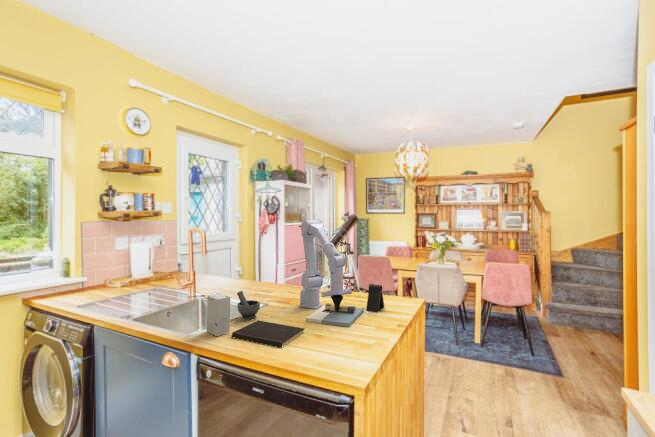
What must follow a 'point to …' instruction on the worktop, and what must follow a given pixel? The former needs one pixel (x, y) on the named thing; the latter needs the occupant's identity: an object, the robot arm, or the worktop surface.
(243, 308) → the mortar and pestle
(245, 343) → the worktop surface
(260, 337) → the hardcover book
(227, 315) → the skincare box
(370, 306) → the phone stand
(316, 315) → the jamb plate
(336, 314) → the door panel
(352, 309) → the swing bar
